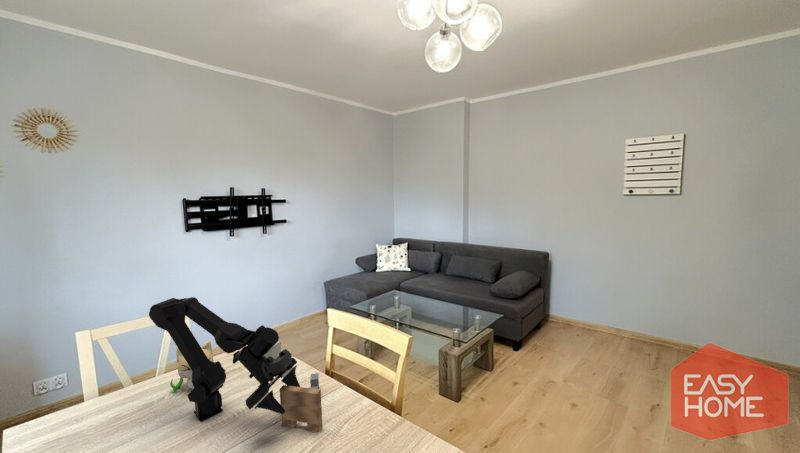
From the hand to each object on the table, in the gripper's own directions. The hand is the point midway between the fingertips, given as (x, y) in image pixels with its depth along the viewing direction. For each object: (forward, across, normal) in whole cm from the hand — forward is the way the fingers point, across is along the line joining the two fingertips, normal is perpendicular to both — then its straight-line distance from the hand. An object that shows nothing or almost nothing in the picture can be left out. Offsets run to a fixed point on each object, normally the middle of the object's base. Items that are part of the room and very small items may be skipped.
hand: (292, 402), depth 96 cm
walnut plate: (+7, 0, +4) cm, 8 cm away
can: (-13, +28, +24) cm, 38 cm away
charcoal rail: (+5, +13, +6) cm, 15 cm away
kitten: (-27, +11, +37) cm, 47 cm away
